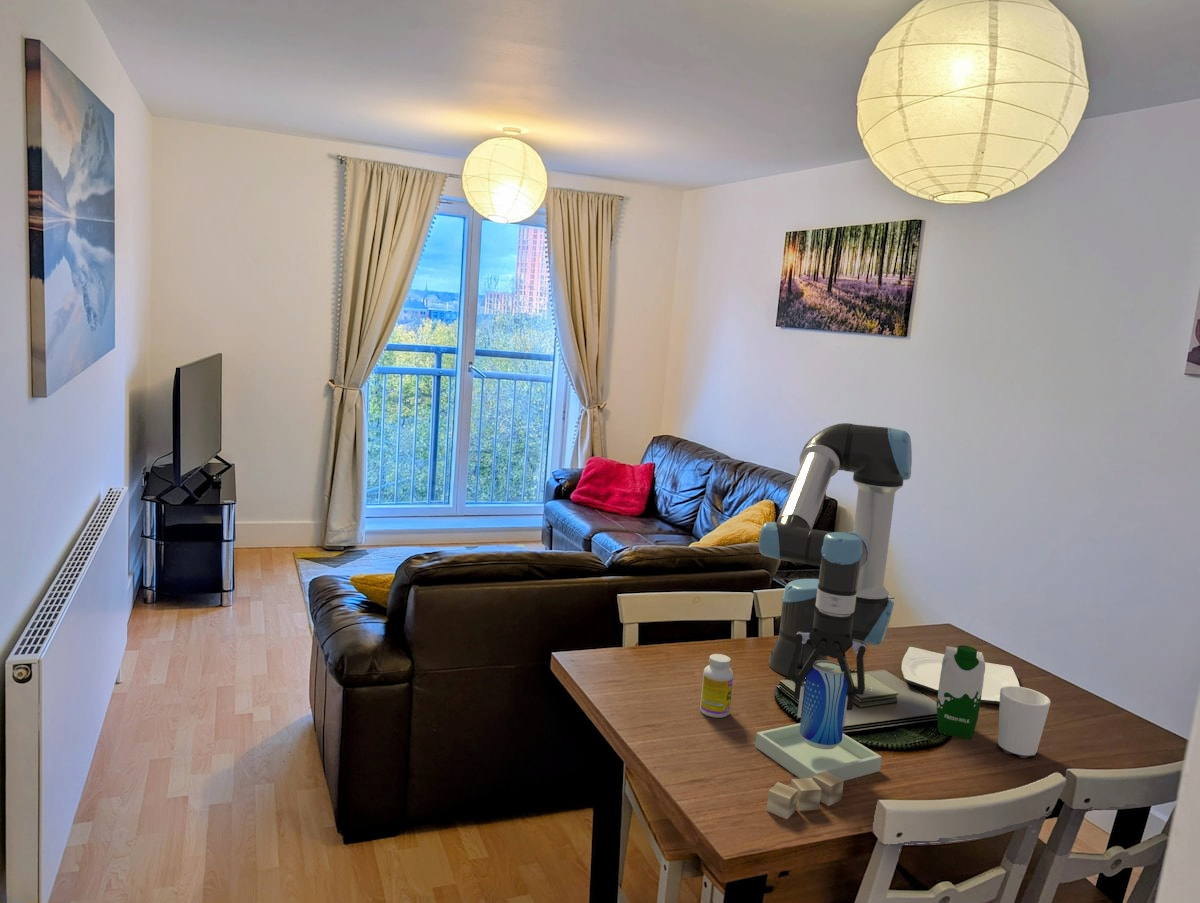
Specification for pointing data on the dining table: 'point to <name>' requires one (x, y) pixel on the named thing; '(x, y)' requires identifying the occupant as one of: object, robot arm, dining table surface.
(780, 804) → the beech cube
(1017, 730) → the cup
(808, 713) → the beer can
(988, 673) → the plate
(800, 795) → the beech cube
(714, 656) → the supplement bottle
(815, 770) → the tray
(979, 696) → the milk carton
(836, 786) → the beech cube
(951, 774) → the dining table surface
